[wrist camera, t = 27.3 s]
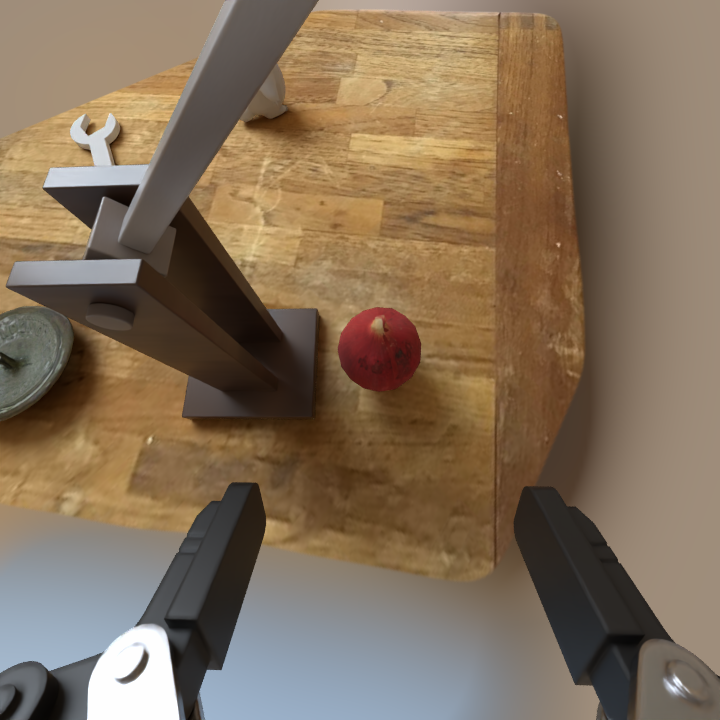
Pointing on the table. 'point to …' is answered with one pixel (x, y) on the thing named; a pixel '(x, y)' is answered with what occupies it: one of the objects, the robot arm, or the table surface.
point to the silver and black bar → (198, 127)
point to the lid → (31, 355)
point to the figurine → (268, 98)
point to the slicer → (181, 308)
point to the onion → (379, 349)
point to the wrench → (96, 139)
